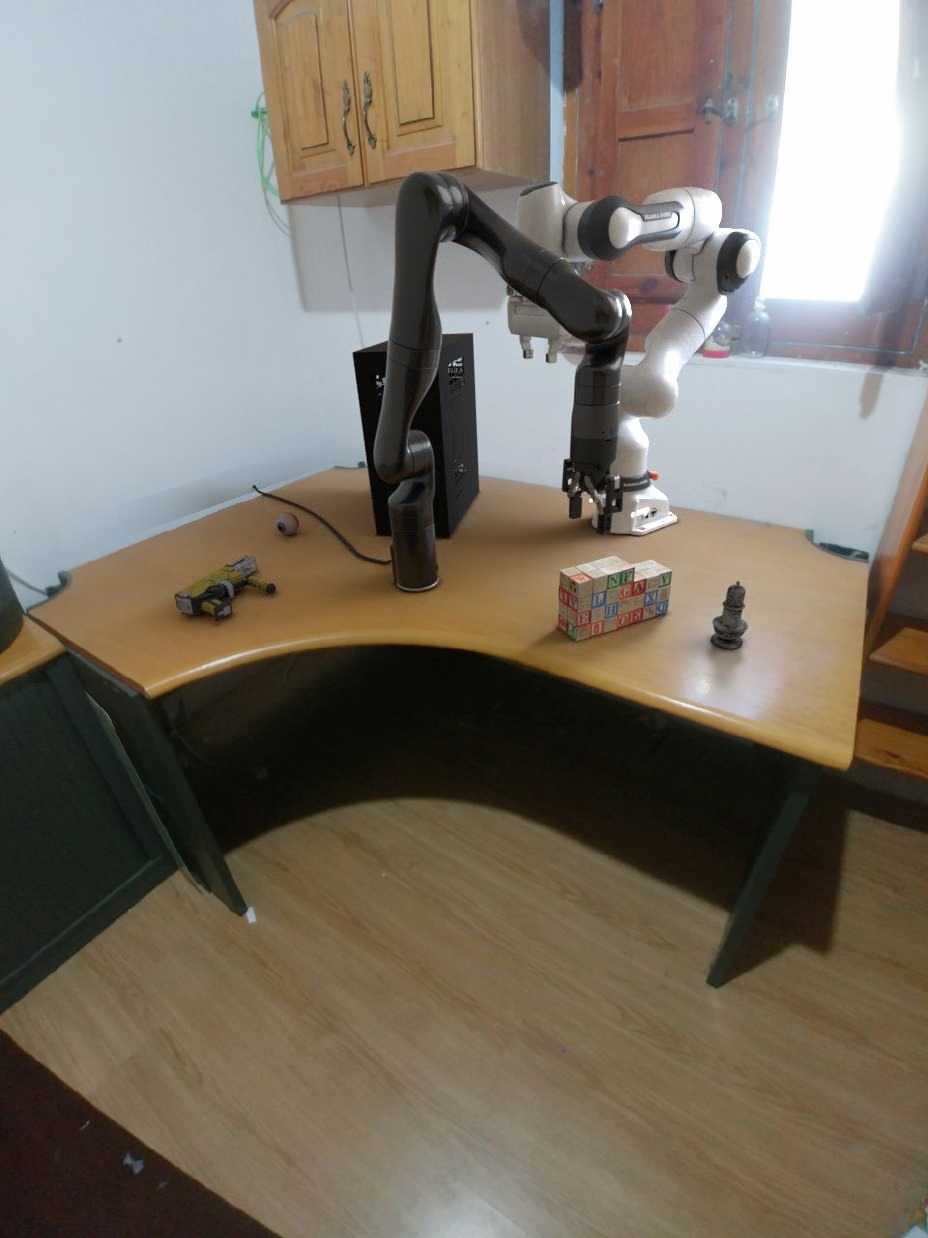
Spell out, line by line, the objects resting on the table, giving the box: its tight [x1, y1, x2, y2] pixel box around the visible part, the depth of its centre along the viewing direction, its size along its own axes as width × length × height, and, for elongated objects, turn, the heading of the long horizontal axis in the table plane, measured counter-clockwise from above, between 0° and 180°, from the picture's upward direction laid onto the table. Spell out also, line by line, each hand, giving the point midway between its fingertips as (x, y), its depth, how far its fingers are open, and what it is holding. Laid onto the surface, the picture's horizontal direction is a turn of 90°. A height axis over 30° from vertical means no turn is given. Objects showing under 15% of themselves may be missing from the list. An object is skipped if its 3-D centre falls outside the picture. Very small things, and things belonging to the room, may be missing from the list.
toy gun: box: [173, 554, 277, 622], centre depth 133 cm, size 5×24×15 cm
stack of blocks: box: [557, 555, 673, 642], centre depth 114 cm, size 21×6×12 cm, turn 115°
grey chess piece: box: [710, 580, 749, 650], centre depth 105 cm, size 6×6×12 cm
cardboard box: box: [351, 332, 480, 539], centre depth 164 cm, size 38×20×45 cm, turn 167°
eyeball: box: [275, 511, 300, 536], centre depth 163 cm, size 6×6×6 cm
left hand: (588, 526), depth 104 cm, fingers open, 8 cm apart
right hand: (539, 360), depth 125 cm, fingers open, 8 cm apart
